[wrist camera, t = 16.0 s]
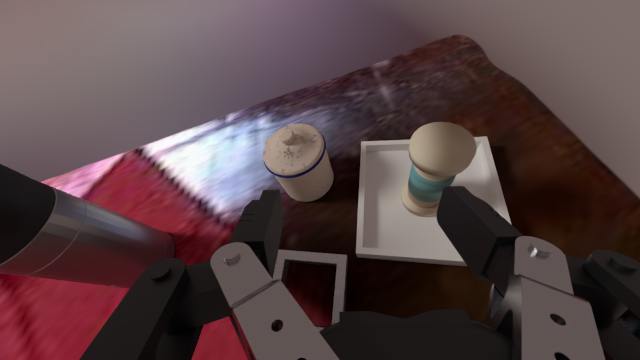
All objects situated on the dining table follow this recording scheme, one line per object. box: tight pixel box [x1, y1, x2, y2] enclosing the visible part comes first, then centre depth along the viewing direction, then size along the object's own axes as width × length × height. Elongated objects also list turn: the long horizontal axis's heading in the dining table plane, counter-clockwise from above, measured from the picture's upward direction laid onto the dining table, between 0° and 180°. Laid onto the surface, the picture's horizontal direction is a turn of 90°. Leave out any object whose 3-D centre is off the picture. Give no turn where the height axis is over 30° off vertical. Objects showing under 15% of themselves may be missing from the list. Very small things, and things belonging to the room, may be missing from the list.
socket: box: [273, 250, 349, 331], centre depth 30 cm, size 10×10×2 cm
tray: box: [356, 137, 511, 266], centre depth 33 cm, size 18×18×2 cm
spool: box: [401, 122, 477, 217], centre depth 28 cm, size 6×6×12 cm
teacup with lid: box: [263, 124, 334, 202], centre depth 36 cm, size 12×9×12 cm
